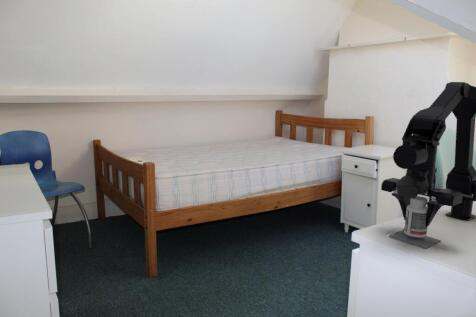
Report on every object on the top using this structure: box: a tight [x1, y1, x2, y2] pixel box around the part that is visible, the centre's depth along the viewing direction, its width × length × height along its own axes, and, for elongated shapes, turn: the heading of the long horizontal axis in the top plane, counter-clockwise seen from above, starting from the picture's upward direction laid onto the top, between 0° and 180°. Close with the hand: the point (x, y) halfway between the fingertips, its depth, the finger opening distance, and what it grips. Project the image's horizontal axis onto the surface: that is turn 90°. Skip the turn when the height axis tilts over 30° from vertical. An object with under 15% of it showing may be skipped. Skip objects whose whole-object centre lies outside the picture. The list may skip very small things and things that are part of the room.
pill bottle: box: [403, 195, 428, 237], centre depth 107 cm, size 5×5×10 cm
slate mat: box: [388, 228, 442, 250], centre depth 108 cm, size 8×10×1 cm
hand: (416, 223), depth 107 cm, fingers closed on pill bottle, 5 cm apart
